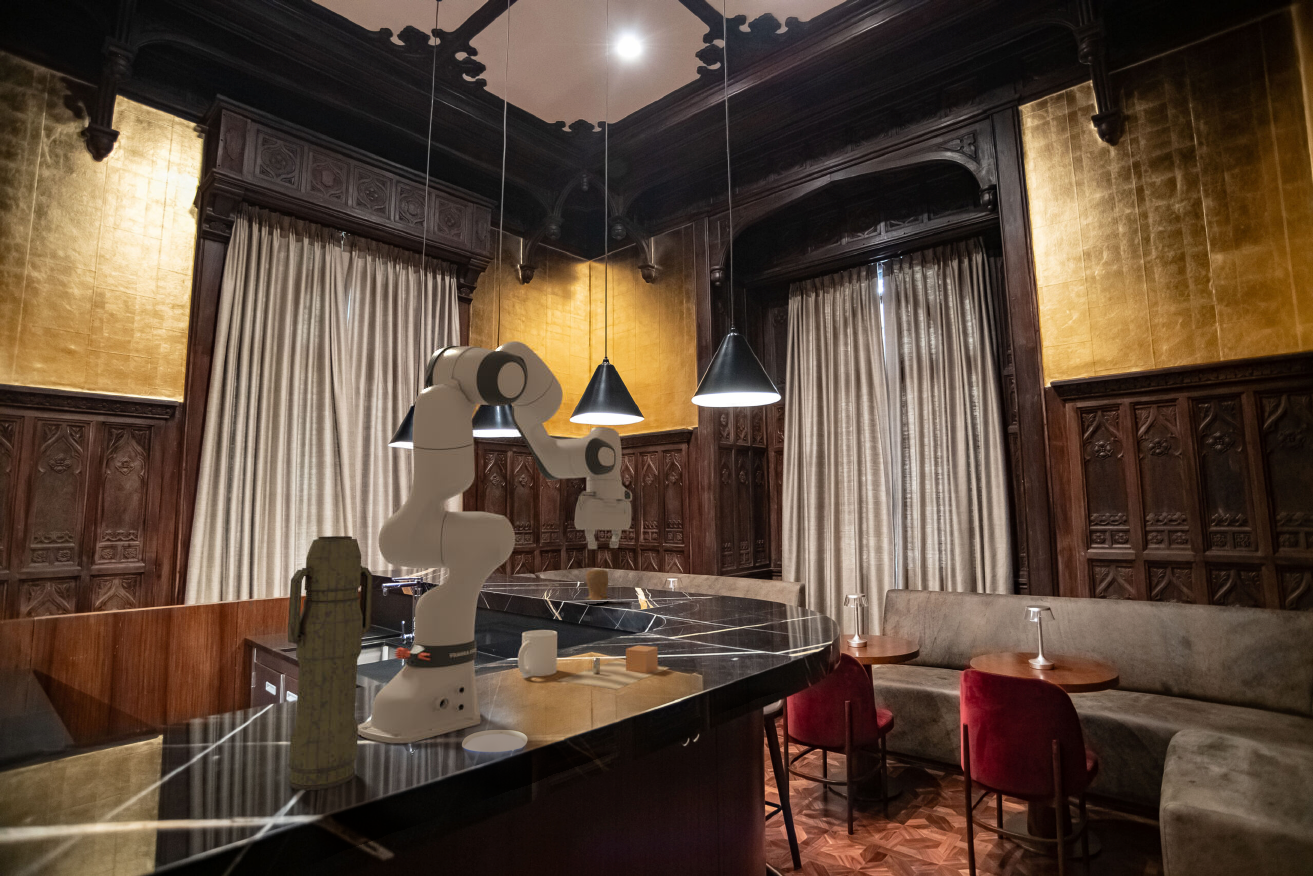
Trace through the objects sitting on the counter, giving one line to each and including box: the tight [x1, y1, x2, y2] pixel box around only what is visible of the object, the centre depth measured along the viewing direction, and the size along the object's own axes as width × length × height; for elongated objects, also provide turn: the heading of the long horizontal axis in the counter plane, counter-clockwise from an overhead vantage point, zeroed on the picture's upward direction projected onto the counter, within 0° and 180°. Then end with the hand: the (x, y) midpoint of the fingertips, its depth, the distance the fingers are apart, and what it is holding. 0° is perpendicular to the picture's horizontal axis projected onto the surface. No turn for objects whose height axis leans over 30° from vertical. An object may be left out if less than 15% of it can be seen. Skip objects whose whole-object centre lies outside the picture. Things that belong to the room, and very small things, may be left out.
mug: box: [517, 629, 558, 679], centre depth 160 cm, size 12×8×10 cm
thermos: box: [287, 535, 374, 791], centre depth 101 cm, size 9×12×35 cm
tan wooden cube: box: [625, 644, 659, 673], centre depth 164 cm, size 6×6×5 cm
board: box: [556, 660, 670, 691], centre depth 159 cm, size 24×16×1 cm, turn 150°
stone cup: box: [584, 569, 611, 600], centre depth 299 cm, size 15×12×15 cm
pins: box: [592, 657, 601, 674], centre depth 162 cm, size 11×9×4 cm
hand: (603, 548), depth 168 cm, fingers open, 8 cm apart
